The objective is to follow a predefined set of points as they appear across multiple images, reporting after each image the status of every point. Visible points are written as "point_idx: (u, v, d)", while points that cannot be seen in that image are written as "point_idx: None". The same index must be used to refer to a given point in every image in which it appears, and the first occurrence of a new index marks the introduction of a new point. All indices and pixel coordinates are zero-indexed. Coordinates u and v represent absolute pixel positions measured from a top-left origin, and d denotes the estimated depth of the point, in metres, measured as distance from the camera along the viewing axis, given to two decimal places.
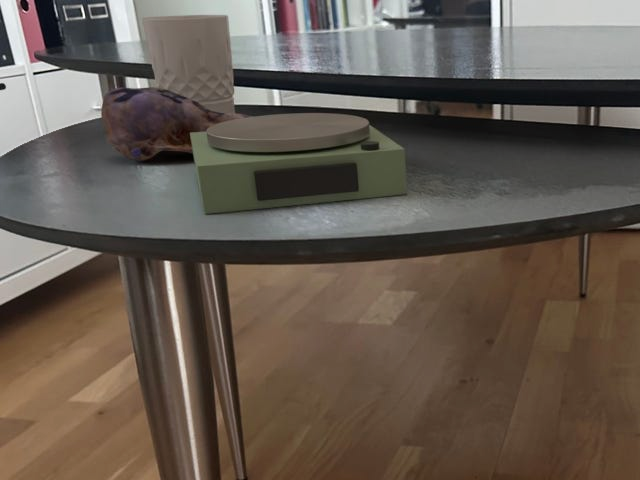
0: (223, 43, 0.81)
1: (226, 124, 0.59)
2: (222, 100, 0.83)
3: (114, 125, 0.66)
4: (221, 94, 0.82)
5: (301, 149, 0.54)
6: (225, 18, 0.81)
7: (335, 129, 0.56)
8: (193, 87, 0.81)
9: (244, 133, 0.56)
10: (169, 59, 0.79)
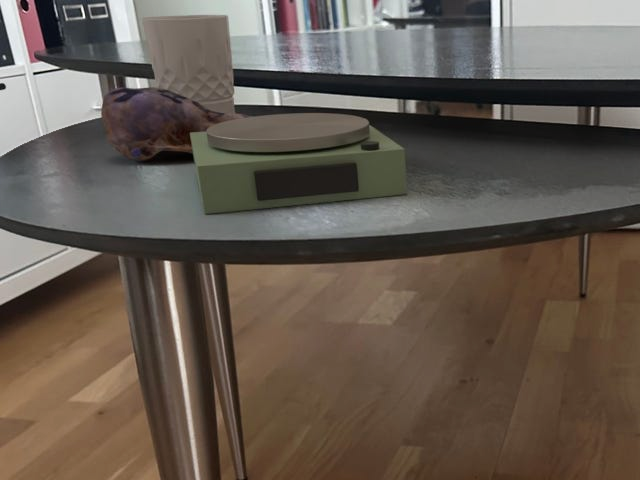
0: (223, 43, 0.81)
1: (226, 124, 0.59)
2: (222, 100, 0.83)
3: (114, 125, 0.66)
4: (221, 94, 0.82)
5: (301, 149, 0.54)
6: (225, 18, 0.81)
7: (335, 129, 0.56)
8: (193, 87, 0.81)
9: (244, 133, 0.56)
10: (169, 59, 0.79)
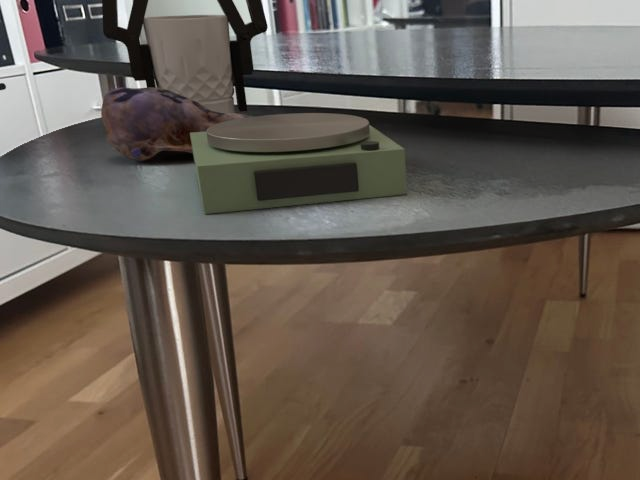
0: (223, 43, 0.81)
1: (226, 124, 0.59)
2: (222, 100, 0.83)
3: (114, 125, 0.66)
4: (221, 94, 0.82)
5: (301, 149, 0.54)
6: (225, 18, 0.81)
7: (335, 129, 0.56)
8: (193, 87, 0.81)
9: (244, 133, 0.56)
10: (169, 59, 0.79)
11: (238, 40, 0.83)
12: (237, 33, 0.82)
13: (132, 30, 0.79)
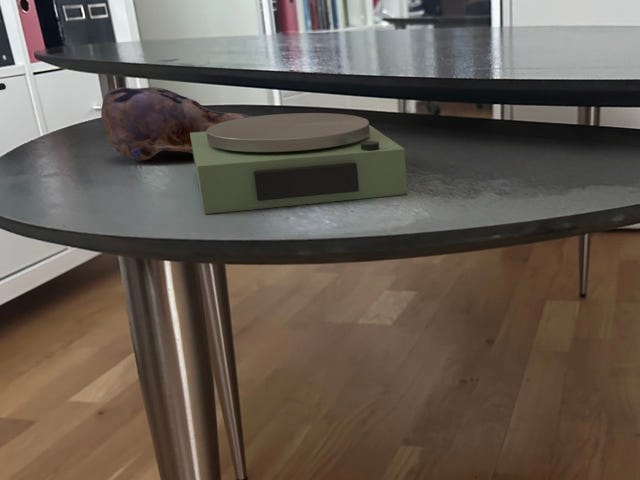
0: None
1: (226, 124, 0.59)
2: None
3: (114, 125, 0.66)
4: None
5: (301, 149, 0.54)
6: None
7: (335, 129, 0.56)
8: None
9: (244, 133, 0.56)
10: None
11: None
12: None
13: None
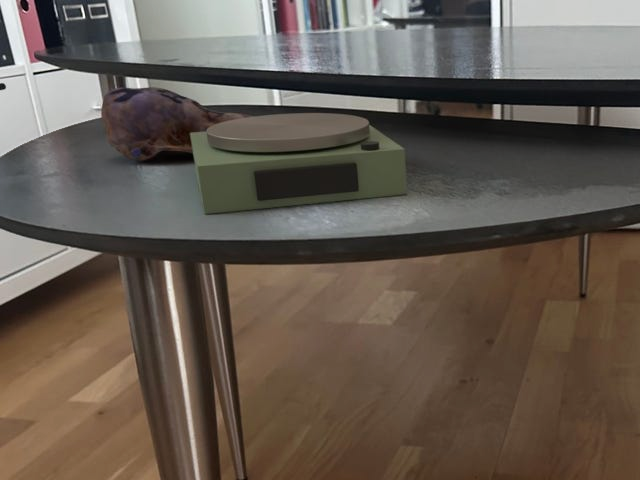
0: None
1: (226, 124, 0.59)
2: None
3: (114, 125, 0.66)
4: None
5: (301, 149, 0.54)
6: None
7: (335, 129, 0.56)
8: None
9: (244, 133, 0.56)
10: None
11: None
12: None
13: None
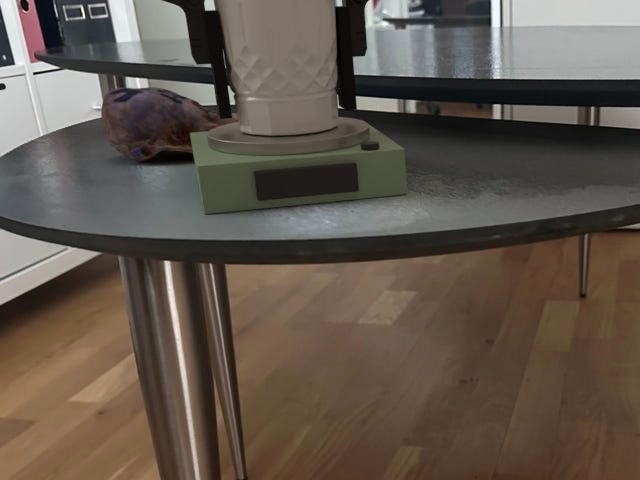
0: (328, 8, 0.54)
1: (226, 127, 0.59)
2: (323, 93, 0.56)
3: (114, 125, 0.66)
4: (323, 84, 0.56)
5: (301, 152, 0.54)
6: None
7: (335, 132, 0.57)
8: (284, 74, 0.54)
9: (244, 136, 0.56)
10: (251, 31, 0.53)
11: (347, 5, 0.56)
12: None
13: None
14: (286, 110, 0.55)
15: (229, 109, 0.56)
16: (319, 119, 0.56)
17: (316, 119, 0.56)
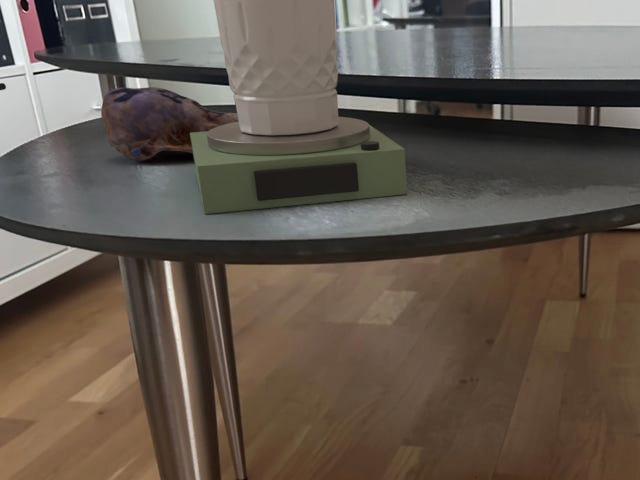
0: (328, 7, 0.54)
1: (226, 127, 0.59)
2: (323, 93, 0.56)
3: (114, 125, 0.66)
4: (323, 84, 0.56)
5: (301, 152, 0.54)
6: None
7: (335, 132, 0.57)
8: (284, 74, 0.54)
9: (244, 136, 0.56)
10: (251, 31, 0.53)
11: None
12: None
13: None
14: (286, 110, 0.55)
15: None
16: (319, 119, 0.56)
17: (316, 119, 0.56)
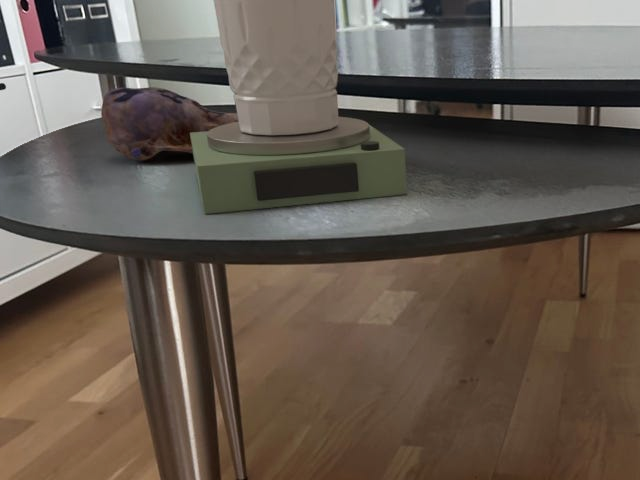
0: (328, 7, 0.54)
1: (226, 127, 0.59)
2: (323, 93, 0.56)
3: (114, 125, 0.66)
4: (323, 84, 0.56)
5: (301, 152, 0.54)
6: None
7: (335, 132, 0.57)
8: (284, 74, 0.54)
9: (244, 136, 0.56)
10: (251, 31, 0.53)
11: None
12: None
13: None
14: (286, 110, 0.55)
15: None
16: (319, 119, 0.56)
17: (316, 119, 0.56)
